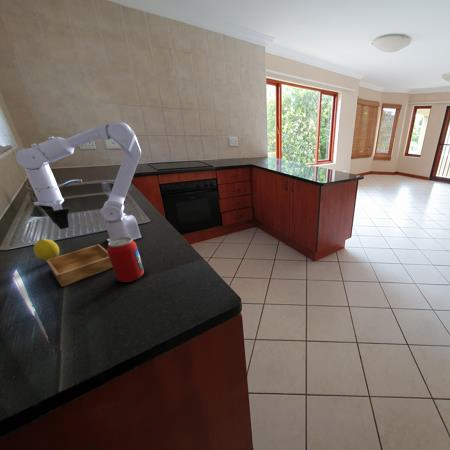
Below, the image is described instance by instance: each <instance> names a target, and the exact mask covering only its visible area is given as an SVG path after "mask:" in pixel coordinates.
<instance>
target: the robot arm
mask: <svg viewBox="0 0 450 450" xmlns="http://www.w3.org/2000/svg"><path fill="white" fill-rule="evenodd" d="M100 139H101V140H111V139H112V140H113V141H114V142H115V143H116V144H117V145H119V147H120V149H121V150H122V151H123V153H124V155H123V157H122V161H121V164H120V166H119V170H118V172H117V173H116V174H117V175H116V178H115V180H114V183H113V186H112V189H111V192H110V193H109V196H108V199H107V200H105V202H104V203H103V206H102V207H101V209H100V211H99V214H100V217H101V218H102V219H103V223H104V226H105V228H106V231H107V234H108V237H109V238H107V239H106V241H107V242H108V243H109V242H110V241H112V240H114V239H118V238H123V237H129V238H131V239H132V240H133V241H135V240H138V239H141V238H142V235H141V232H140V228H139V225H138V222H137V219H136V217H135V216H134V215H132V214H130V215H128V214H126V213H125V212H124V210H125V203H124V202H125V200H126V197H127V194H128V191H129V188H130V186H131V183H132V180H133V178H134V175H135V172H136V169H137V167H138V164H139V161H140V158H141V156H142V150H141V147H140V144H139V142H138V138H137V135H136V133H135V132H134V130H133V129H132V127H130V125H129V124H128V123H125V122H123V121H112V122H110V123H105V124H99V125H96V126H93V127H90V128H88V129H86V130H84V131H82V132H79V133H77V134H74V135H72V136H70V137H67V138H65V137H61V136H55V137H54V136H50V137H47V140H45V141H42V142H40V143H38V144H37V143H32V144H30V147H28V148H22V149H20V150H18V151H17V152H16V154H15V161H16V163H17V164H18V165H20V166H21V167H23V170H24V172H25V174H26V177H27V179H28V181H29V184H30V186H31V188H32V190H33V193H34V195H35V197H36V199H37V201H34V202H33V205H34V206H38V207H39V208H40V209H42V210H43V211H44V213H45V214H47V215H48V217H49V218H50V220H51V221H52V222H53V223H54V224H55V225H56V226H57V227H58V228H59V229H60V230H65V229H68V228H69V227H70V226H69V225H70V224H69V211H70V207H68V206H66V207H63V203H64V201H65V199H64V198H63V196H62V193H61V191H60V189H59V185H58V183H57V181H56V178H55V176H54V174H53V171H52V169H51V167H50V163H55V162H56V161H59V160H60V159H63V158H67V157H68V156H71V155H74V153H75V148H78V147H81V146H83V145H85V144H88V143H91V142H94V141H97V140H100Z"/></svg>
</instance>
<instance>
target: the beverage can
mask: <svg viewBox="0 0 450 450" xmlns="http://www.w3.org/2000/svg"><path fill="white" fill-rule="evenodd" d="M106 250H107V252H108V255H109V258H110V261H111V264H112V266H113V268H112V269H113V272H114V274H115V277H116V279H117V281H118V282H122V283H131V282H134V281H136V280H138V279H140V277H142V276H143V275H144V274H145V269H144V266H143V263H142V258H141V256H140V252H139V249H138V246H137V243H136V242H135V240H132V239H131V238H129V237H123V238H118V239H114V240H112V241H110V242H108V243H107V248H106Z"/></svg>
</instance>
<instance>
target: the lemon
mask: <svg viewBox="0 0 450 450" xmlns="http://www.w3.org/2000/svg"><path fill="white" fill-rule="evenodd" d="M33 252H34V255H35V256H36V257H37V258H38V259H39V260H42V261H46V260H48V259H51V258H54V257H58V256H60V247H59V245H58V244H57V243H56V242H55V241H54V240H51V239H45V238H41V239H39V240H38V241H37V242H35V244H34V245H33Z"/></svg>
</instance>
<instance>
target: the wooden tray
mask: <svg viewBox="0 0 450 450" xmlns="http://www.w3.org/2000/svg"><path fill="white" fill-rule="evenodd" d="M45 261H46V264H47V265H48V267H49V270H50V271H51V273H52V275H53V276H54V277H55V279H56V281H57V282H58V283H59V284H60V286H61V287H65V286H67V285H70V284H73V283H76V282H79V281H80V280H81V281H82V280H83V279H86V278H89V277H91V276H94V275H96V274H99V273H102V272H105V271H108V270H110V269H113V266H112V264H111V261H110V258H109V255H108V252H107V249H106V248H105V247H103V246H102V245H101V244H99V243H98V244H95V245H90V246H88V247H84V248H81V249H78V250H74V251H70V252H68V253H65V254H61V255H58V256H57V257H54V258H51V259H48V260H45Z"/></svg>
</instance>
